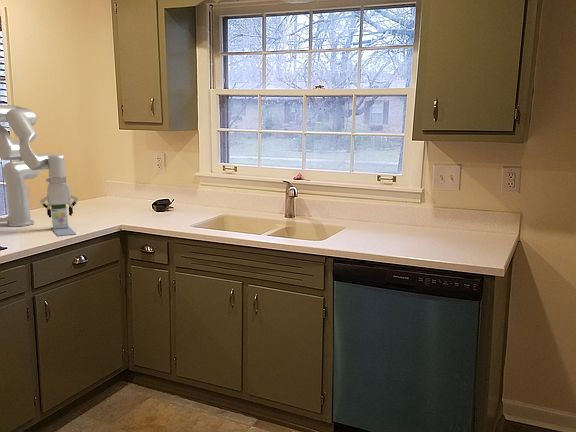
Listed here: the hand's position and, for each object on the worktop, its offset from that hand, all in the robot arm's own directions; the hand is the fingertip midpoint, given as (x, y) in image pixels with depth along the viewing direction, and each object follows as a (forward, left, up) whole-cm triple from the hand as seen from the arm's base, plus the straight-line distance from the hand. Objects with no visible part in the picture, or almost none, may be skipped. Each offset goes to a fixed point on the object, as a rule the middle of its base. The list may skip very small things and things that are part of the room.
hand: (60, 216), depth 260 cm
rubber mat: (0, -6, -6) cm, 9 cm away
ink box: (0, 0, -6) cm, 6 cm away
